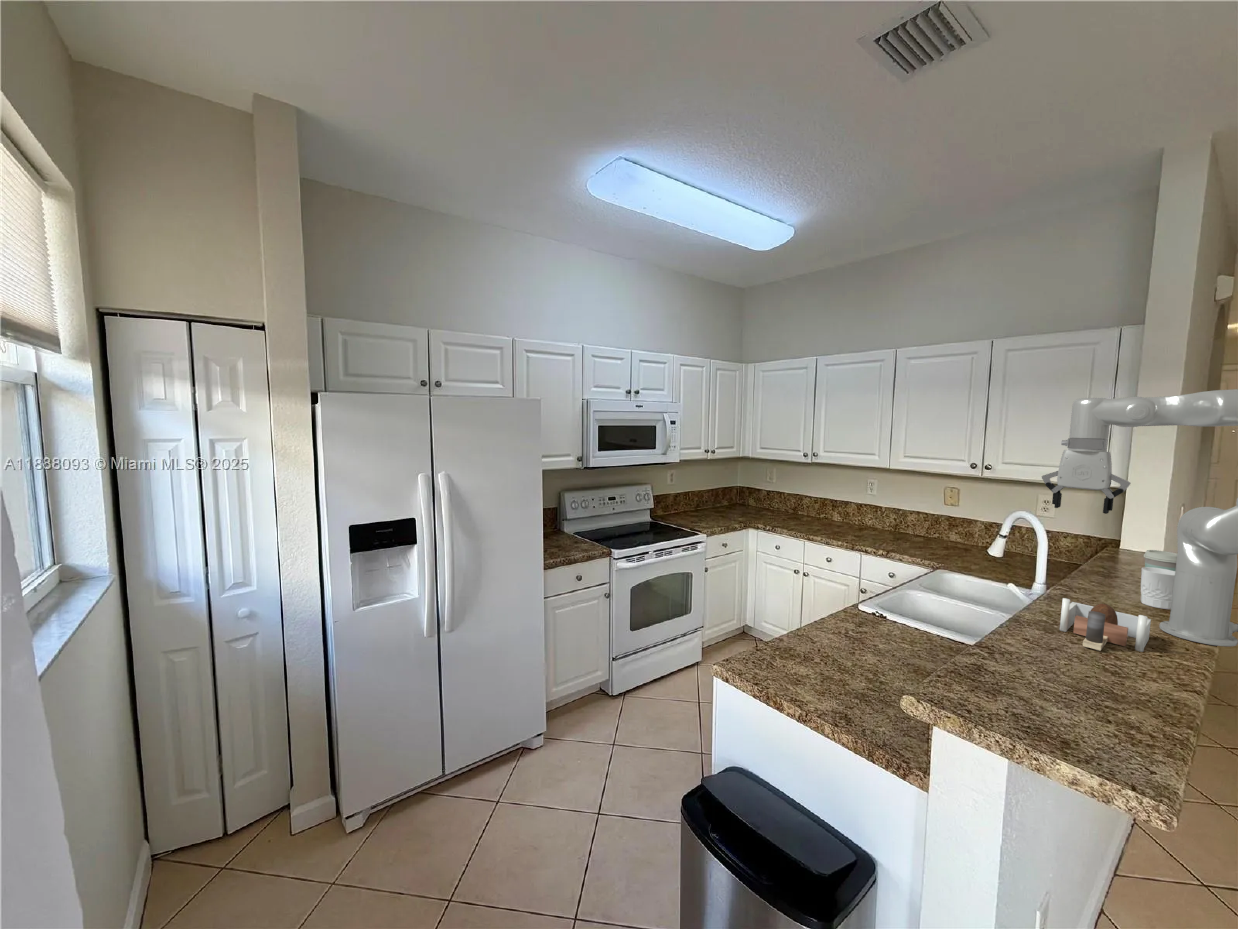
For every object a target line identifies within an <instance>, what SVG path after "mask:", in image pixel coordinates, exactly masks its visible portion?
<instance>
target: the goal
mask: <svg viewBox="0 0 1238 929" xmlns="http://www.w3.org/2000/svg"><path fill="white" fill-rule="evenodd" d="M1093 607H1094V606H1093V605H1089V604H1084V603H1080V602H1076V601H1075V602H1074V601H1071V599H1070V598H1067V597H1062V603H1061V612H1060V623H1059V631H1061V632H1065V633H1066V632H1068V630H1069V629H1070V628H1071V626H1074V622H1075V616H1076V615H1077V616H1081V617H1085V618H1088V613H1089V611H1091V609H1092V608H1093ZM1115 612H1116V614H1117V619H1118V625H1119V626H1123V627H1127V628H1128V635H1127V637H1131V638H1134V639H1135V644H1134V645H1135V646H1134V650H1135V651H1138V652H1141V653H1142V652H1144V651H1145V647H1146V645H1147V643H1148V642H1149V639H1150V631H1151V625H1152V624H1151V622H1152V619H1151V618H1148V616H1147V615H1143V614H1138V616H1136V615H1132V614H1129V613H1124V612H1120V611H1116V610H1115Z"/></svg>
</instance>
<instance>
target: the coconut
mask: <svg viewBox="0 0 1238 929" xmlns="http://www.w3.org/2000/svg"><path fill="white" fill-rule="evenodd" d="M1091 611H1095V612H1100V613H1103V614H1105V622H1106V623H1110V624H1115V625H1118V619H1117V614H1116V612H1117V611H1116V610H1115V609H1114V608H1113V607H1112V606H1111V605H1109V604H1107V603H1099V604H1096V605H1094V606H1093V608H1092V609H1091ZM1115 611H1116V612H1115Z"/></svg>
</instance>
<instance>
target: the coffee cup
mask: <svg viewBox="0 0 1238 929" xmlns="http://www.w3.org/2000/svg"><path fill="white" fill-rule="evenodd" d="M1143 557H1144V567H1152V568H1161V569H1167V570H1171V571H1175V570H1176V562H1177V553H1176V552H1172V551H1166V550H1159V549H1158V550H1157V549H1156V550H1155V549H1148V550H1146V551H1145V553H1144V554H1143Z"/></svg>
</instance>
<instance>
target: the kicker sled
mask: <svg viewBox="0 0 1238 929" xmlns="http://www.w3.org/2000/svg"><path fill="white" fill-rule="evenodd" d="M1072 632H1073V634H1077V635H1080V636H1084V639H1083V640H1082V646H1083V647H1085V648H1090V649H1093V650H1096V651H1100V652H1101V650H1103V648H1104V647H1105V646H1106V644H1107V643H1111V644H1115V645H1119V646H1122V647H1126V646H1127V641H1128V636H1127V635H1128V628H1127V627H1123V626H1119V625H1115V624H1110V623H1106V622H1105V614H1103V613H1100V612H1095V611H1089V613H1088V618H1085V617H1081V616H1077V615H1076V616H1075V622H1074V624H1073V631H1072Z"/></svg>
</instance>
